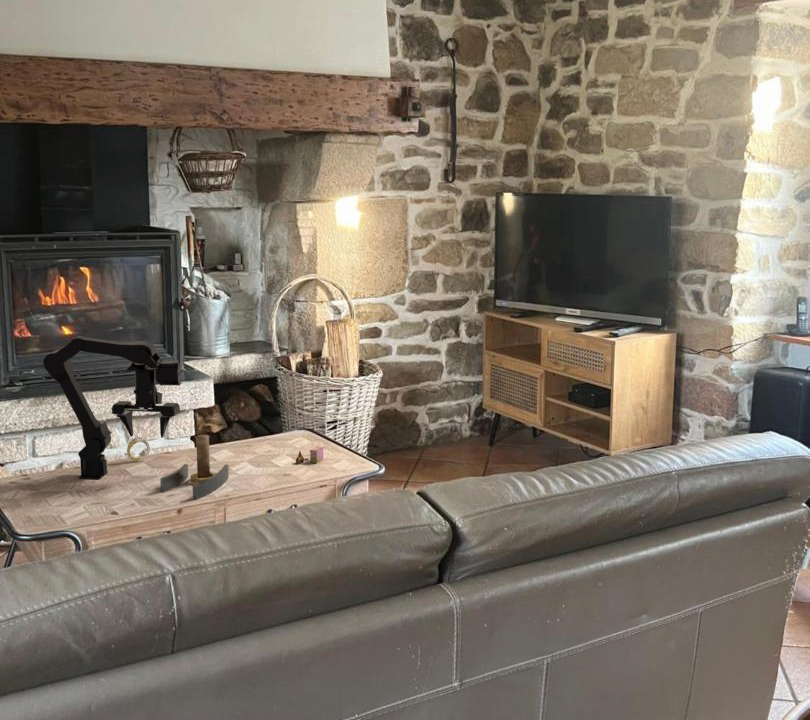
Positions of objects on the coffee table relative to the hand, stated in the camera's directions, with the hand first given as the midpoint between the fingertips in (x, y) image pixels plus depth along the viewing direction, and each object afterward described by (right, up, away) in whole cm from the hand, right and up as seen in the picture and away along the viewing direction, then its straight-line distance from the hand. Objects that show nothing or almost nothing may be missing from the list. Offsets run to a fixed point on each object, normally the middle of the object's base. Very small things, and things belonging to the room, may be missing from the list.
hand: (147, 436), depth 286 cm
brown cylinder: (+17, -12, -1) cm, 21 cm away
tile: (+17, -13, -1) cm, 21 cm away
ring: (-7, -9, +17) cm, 20 cm away
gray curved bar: (+15, -14, -8) cm, 22 cm away
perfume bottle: (+47, -10, +17) cm, 51 cm away
